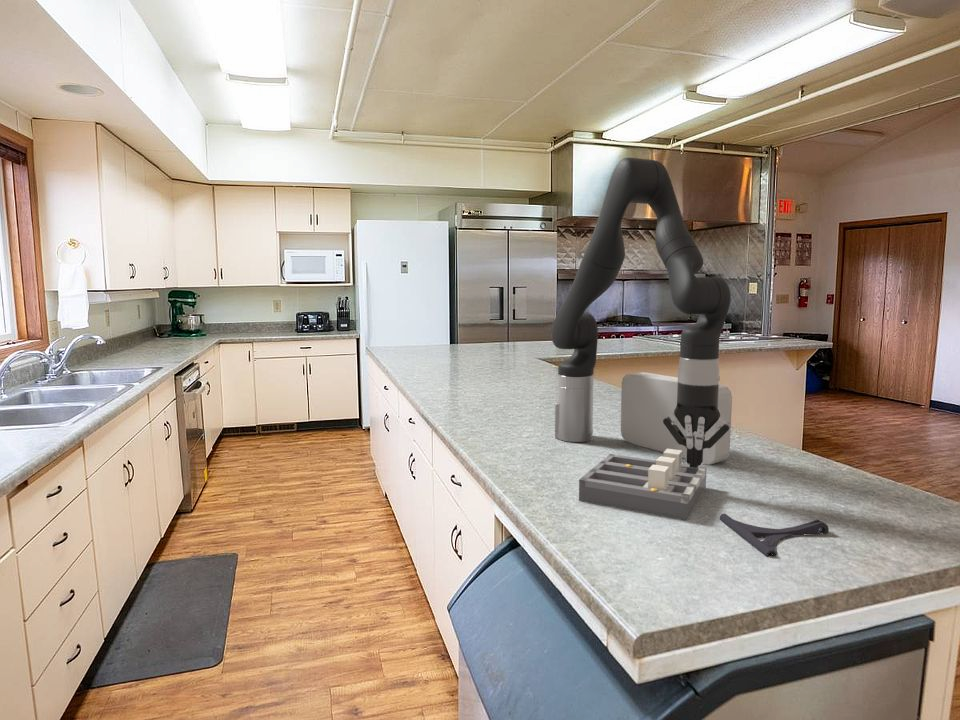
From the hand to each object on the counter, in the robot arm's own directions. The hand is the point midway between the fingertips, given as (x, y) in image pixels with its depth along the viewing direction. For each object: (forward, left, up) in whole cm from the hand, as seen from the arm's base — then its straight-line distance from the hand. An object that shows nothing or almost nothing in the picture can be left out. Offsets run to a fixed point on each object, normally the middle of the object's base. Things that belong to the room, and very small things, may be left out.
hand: (694, 466), depth 118 cm
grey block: (-10, +27, -5) cm, 29 cm away
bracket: (+17, -14, -6) cm, 23 cm away
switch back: (-4, 0, -2) cm, 5 cm away
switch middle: (-4, -6, -2) cm, 8 cm away
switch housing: (-8, -6, -5) cm, 11 cm away
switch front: (-4, -12, -2) cm, 13 cm away
